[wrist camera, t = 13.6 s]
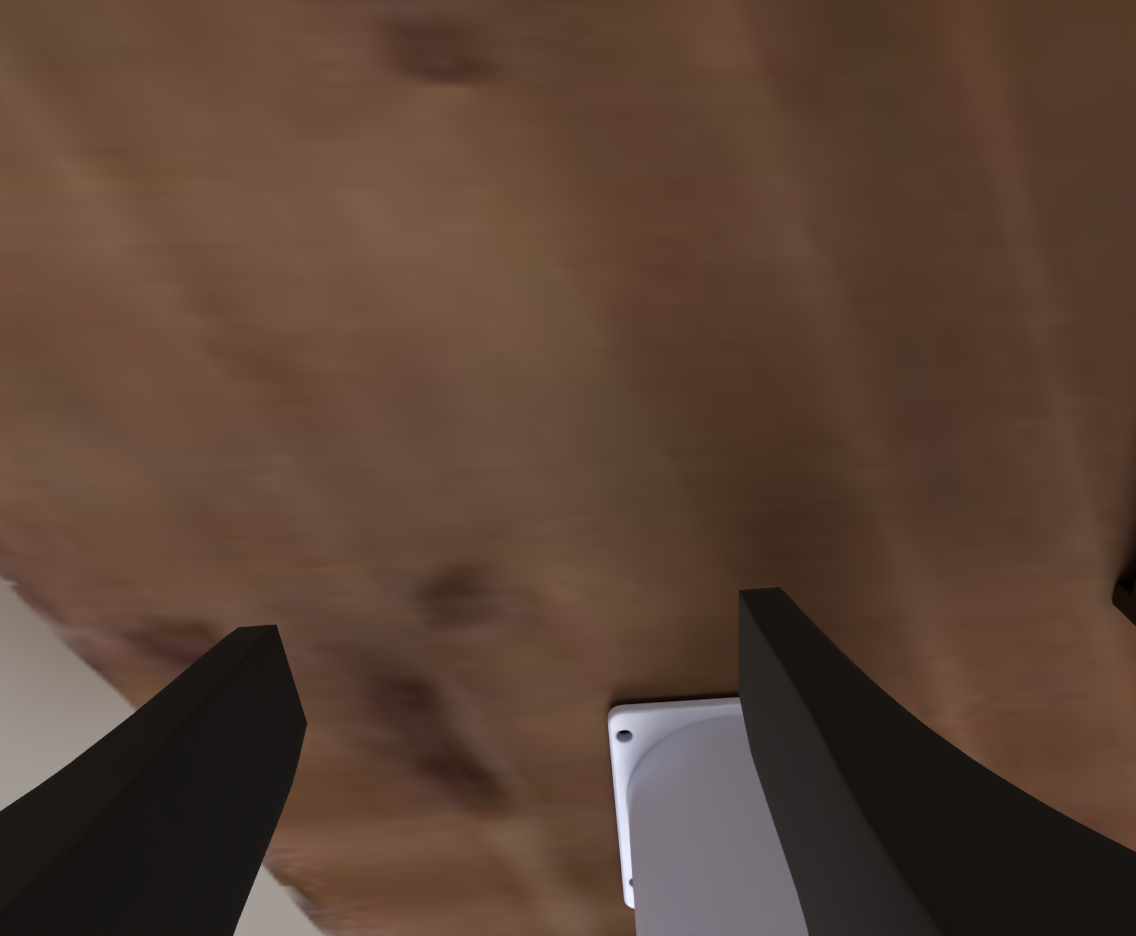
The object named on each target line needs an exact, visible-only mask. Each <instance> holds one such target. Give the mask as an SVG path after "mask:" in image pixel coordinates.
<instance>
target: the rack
mask: <svg viewBox="0 0 1136 936" xmlns="http://www.w3.org/2000/svg"><path fill="white" fill-rule="evenodd" d="M1112 603H1113V604H1114V605H1115V606H1116V607H1117V608H1118V609H1119V610H1120V611H1121V612H1122V613H1123V614H1124V615H1125V616H1126V617H1127V618H1128V619H1129V620H1130V621H1131V622H1132V623H1133V624H1134V625H1135V626H1136V580H1135V581H1123V582H1117V584H1116V588H1115V592H1114V596H1113V601H1112Z"/></svg>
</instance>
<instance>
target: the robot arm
mask: <svg viewBox="0 0 1136 936" xmlns="http://www.w3.org/2000/svg"><path fill="white" fill-rule="evenodd" d="M306 726H307V721H306V718H305V715H304V712H303V709H302V705H301V702H300V699H299V696H298V693H297V689H296V686H295V683H294V680H293V676H292V673H291V670H290V667H289V664H288V660H287V657H286V654H285V651H284V648H283V644H282V641H281V638H280V635H279V631H278V628H277V625H263V626H250V627H238V628H237V629H236V630H234V631H233V632H231V633H230V634H229V635H227V636H226V637H225V638H224V639H222V640H221V641H220V642H219V643H217V644H216V645H215V646H214V647H212V648H211V649H210V650H209V651H208V652H206V653H205V654H204V655H203V656H202V657H200V658H199V659H198V660H197V661H196V662H195V663H193V664H192V665H191V666H190V667H189V668H187V669H186V670H185V671H184V672H183V673H182V674H180V675H179V676H178V677H177V678H176V679H174V680H173V681H172V682H171V683H170V684H168V685H167V686H166V687H165V688H164V689H162V690H161V691H160V692H159V693H158V694H156V695H155V696H154V697H153V698H152V699H150V700H149V701H148V702H147V703H146V704H144V705H143V706H142V707H141V708H140V709H139V710H137V711H136V712H135V713H134V714H133V715H131V716H130V717H129V718H127V719H126V720H125V721H124V722H122V723H121V724H120V725H118V726H117V727H116V728H115V729H114V730H112V731H111V732H109V733H108V734H107V735H106V736H104V737H103V738H102V739H101V740H99V741H98V742H97V743H95V744H94V745H93V746H91V747H90V748H89V749H88V750H86V751H85V752H84V753H82V754H81V755H80V756H79V757H77V758H76V759H75V760H74V761H72V762H71V763H69V764H68V765H67V766H65V767H64V768H63V769H61V770H60V771H58V772H57V773H56V774H54V775H53V776H51V777H50V778H49V779H47V780H46V781H44V782H43V783H41V784H40V785H39V786H37V787H36V788H34V789H33V790H31V791H30V792H28V793H27V794H25V795H24V796H22V797H21V798H19V799H18V800H16V801H15V802H13V803H12V804H11V805H9V806H7V807H6V808H4V809H3V810H1V811H0V936H233V935H234V932H235V929H236V926H237V923H238V921H239V918H240V916H241V913H242V911H243V908H244V906H245V903H246V901H247V898H248V896H249V893H250V891H251V888H252V886H253V883H254V881H255V878H256V876H257V873H258V870H259V868H260V866H261V863H262V861H263V858H264V856H265V853H266V851H267V848H268V846H269V843H270V841H271V838H272V836H273V833H274V831H275V828H276V825H277V823H278V820H279V818H280V815H281V813H282V810H283V807H284V805H285V802H286V800H287V797H288V794H289V792H290V789H291V786H292V783H293V780H294V776H295V772H296V768H297V764H298V761H299V757H300V752H301V748H302V744H303V739H304V735H305V731H306ZM608 730H609V741H610V752H611V763H612V773H613V784H614V795H615V806H616V816H617V827H618V838H619V849H620V859H621V870H622V881H623V892H624V901H625V903H626V904H627V905H628V906H629V907H631V908H634V909H635V922H636V936H1136V852H1135V851H1133V850H1131V849H1129V848H1127V847H1125V846H1123V845H1121V844H1119V843H1117V842H1115V841H1113V840H1111V839H1109V838H1107V837H1105V836H1103V835H1101V834H1100V833H1098V832H1096V831H1094V830H1092V829H1090V828H1088V827H1086V826H1084V825H1082V824H1080V823H1078V822H1076V821H1075V820H1073V819H1071V818H1069V817H1067V816H1066V815H1064V814H1062V813H1060V812H1058V811H1057V810H1055V809H1053V808H1051V807H1049V806H1048V805H1046V804H1044V803H1042V802H1041V801H1039V800H1037V799H1036V798H1034V797H1032V796H1031V795H1029V794H1027V793H1026V792H1024V791H1023V790H1021V789H1019V788H1018V787H1016V786H1014V785H1013V784H1011V783H1009V782H1008V781H1006V780H1005V779H1003V778H1001V777H1000V776H998V775H996V774H995V773H993V772H992V771H990V770H989V769H987V768H986V767H984V766H982V765H981V764H979V763H978V762H976V761H975V760H973V759H972V758H970V757H969V756H967V755H966V754H965V753H963V752H962V751H960V750H959V749H958V748H956V747H955V746H953V745H952V744H951V743H949V742H948V741H947V740H945V739H944V738H942V737H941V736H940V735H938V734H937V733H935V732H934V731H933V730H931V729H930V728H928V727H927V726H926V725H925V724H923V723H922V722H921V721H920V720H918V719H917V718H916V717H915V716H913V715H912V714H911V713H910V712H908V711H907V710H906V709H905V708H904V707H902V706H901V705H900V704H899V703H898V702H897V701H895V700H894V699H893V698H892V697H891V696H889V695H888V694H887V693H886V692H885V691H884V690H883V689H881V688H880V687H879V686H878V685H877V684H876V683H875V682H874V681H872V680H871V679H870V678H869V677H868V676H867V675H866V674H865V673H864V672H863V671H862V670H861V669H860V668H859V667H857V666H856V665H855V664H854V663H853V662H852V661H851V660H850V659H849V658H848V657H847V656H846V655H845V654H844V653H843V652H842V651H841V650H840V649H839V648H838V647H837V646H836V645H835V644H834V643H833V642H832V641H831V640H830V639H829V638H828V637H827V636H826V635H825V634H824V633H823V632H822V631H821V630H820V629H819V628H818V627H817V626H816V625H815V624H814V623H813V622H812V621H811V620H810V619H809V618H808V616H807V615H806V614H805V613H804V612H803V611H802V610H801V609H800V608H799V607H798V606H797V605H796V603H795V602H794V601H793V600H792V599H791V598H790V597H789V596H788V595H787V594H786V593H785V592H784V591H783V590H782V589H781V588H780V587H777V588H763V589H750V590H739V697H734V698H719V699H704V700H688V701H673V702H658V703H643V704H627V705H619V706H616V707H614V708H612V709H611V710H610V712H609V713H608ZM622 730H628V731H629V732H628V733H620V732H619V731H622Z"/></svg>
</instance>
